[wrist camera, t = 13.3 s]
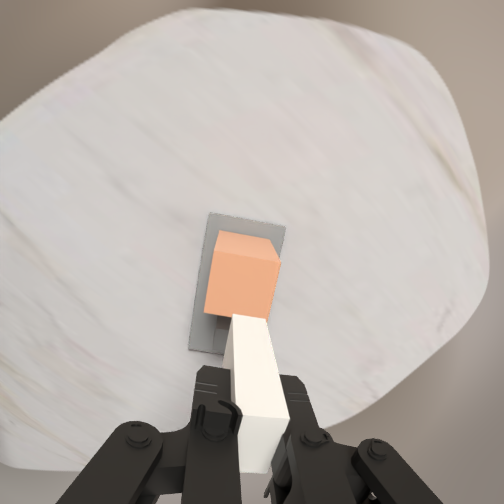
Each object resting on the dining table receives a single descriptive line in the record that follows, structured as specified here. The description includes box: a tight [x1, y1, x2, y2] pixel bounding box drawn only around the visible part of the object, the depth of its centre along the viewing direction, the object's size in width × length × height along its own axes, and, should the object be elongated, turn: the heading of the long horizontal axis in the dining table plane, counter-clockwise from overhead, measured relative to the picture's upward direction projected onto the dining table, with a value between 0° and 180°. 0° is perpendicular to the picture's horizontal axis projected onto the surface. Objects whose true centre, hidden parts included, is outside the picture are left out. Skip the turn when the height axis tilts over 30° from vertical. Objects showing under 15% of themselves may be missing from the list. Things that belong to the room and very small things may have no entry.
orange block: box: [204, 230, 281, 323], centre depth 29 cm, size 5×5×9 cm
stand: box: [188, 213, 286, 355], centre depth 31 cm, size 8×16×9 cm, turn 169°
